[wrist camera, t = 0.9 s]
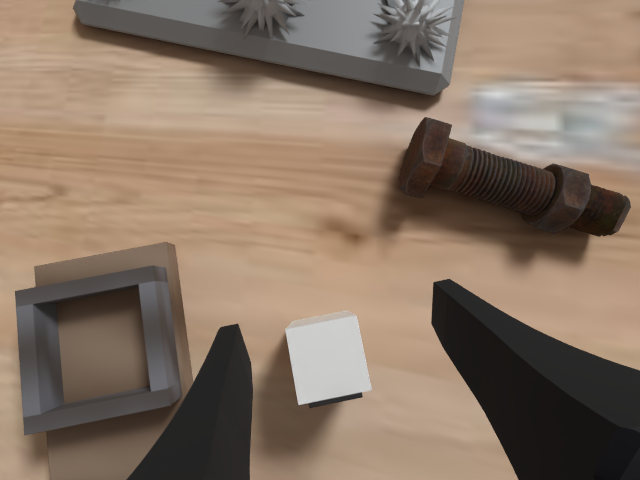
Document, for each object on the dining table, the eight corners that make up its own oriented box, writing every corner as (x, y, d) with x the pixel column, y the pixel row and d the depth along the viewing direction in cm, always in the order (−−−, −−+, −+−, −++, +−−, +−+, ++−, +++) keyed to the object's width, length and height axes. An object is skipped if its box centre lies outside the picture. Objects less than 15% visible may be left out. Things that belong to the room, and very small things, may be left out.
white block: (359, 374, 25) (373, 399, 19) (303, 385, 25) (300, 414, 19) (347, 310, 25) (356, 315, 20) (292, 320, 25) (285, 329, 19)
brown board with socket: (218, 576, 23) (181, 688, 16) (78, 608, 22) (-18, 735, 16) (174, 245, 26) (128, 229, 20) (50, 268, 26) (-39, 259, 19)
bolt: (571, 235, 29) (394, 179, 28) (607, 175, 27) (418, 116, 27) (621, 264, 23) (403, 196, 23) (671, 192, 21) (433, 118, 21)
